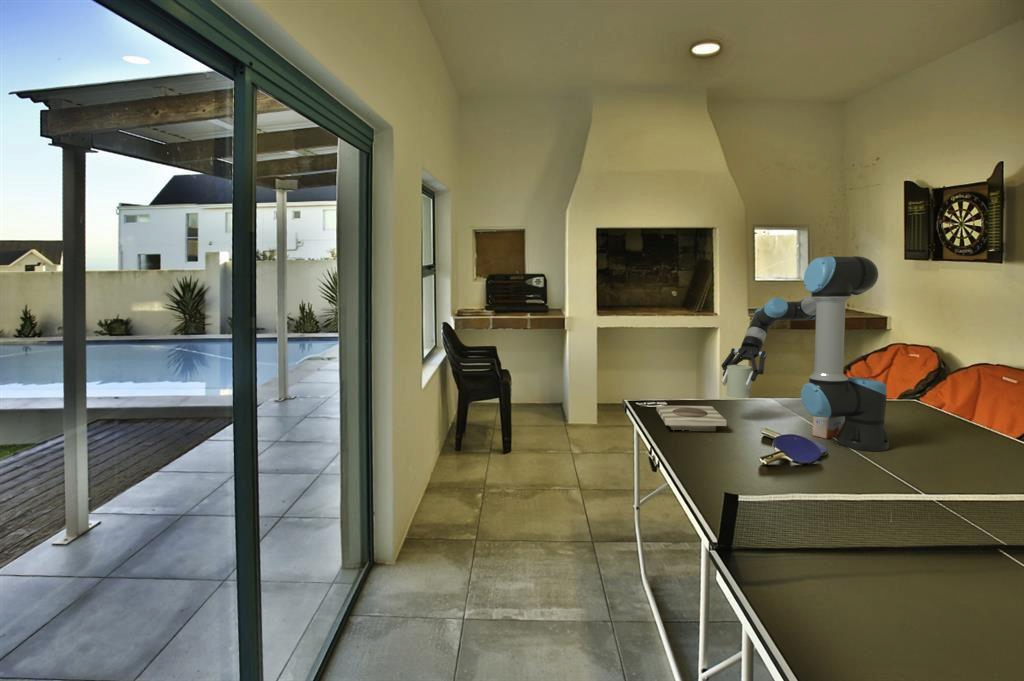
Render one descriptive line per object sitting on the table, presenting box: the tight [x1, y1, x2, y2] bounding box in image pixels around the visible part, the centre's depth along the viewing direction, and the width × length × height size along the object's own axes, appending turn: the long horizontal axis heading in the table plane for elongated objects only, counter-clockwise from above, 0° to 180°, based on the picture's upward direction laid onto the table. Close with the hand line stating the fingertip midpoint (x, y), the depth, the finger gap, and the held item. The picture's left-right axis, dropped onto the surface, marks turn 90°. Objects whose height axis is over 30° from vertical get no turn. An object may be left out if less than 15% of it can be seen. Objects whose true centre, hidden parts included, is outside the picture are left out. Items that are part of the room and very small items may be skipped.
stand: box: [656, 405, 727, 432], centre depth 225 cm, size 22×22×5 cm
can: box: [725, 364, 753, 399], centre depth 227 cm, size 9×9×12 cm
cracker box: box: [811, 416, 845, 440], centre depth 210 cm, size 14×6×21 cm, turn 126°
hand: (735, 385), depth 225 cm, fingers closed on can, 9 cm apart
